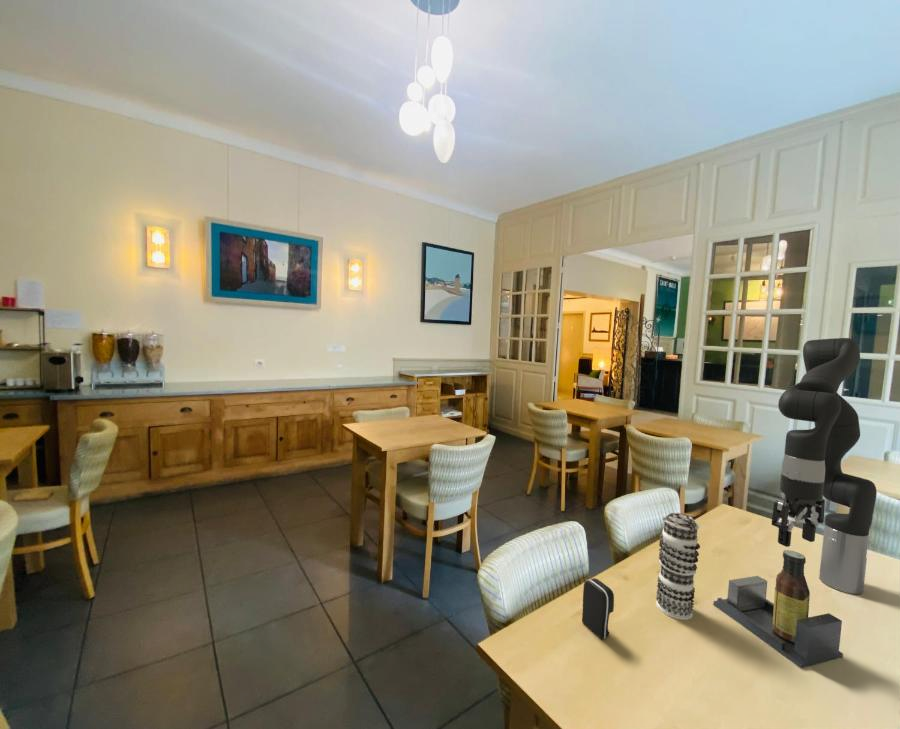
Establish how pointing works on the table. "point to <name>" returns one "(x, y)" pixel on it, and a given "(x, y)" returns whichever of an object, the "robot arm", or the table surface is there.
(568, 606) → the table surface
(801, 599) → the sauce bottle
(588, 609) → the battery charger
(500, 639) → the table surface
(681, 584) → the decorative candle
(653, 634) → the table surface
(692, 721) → the table surface
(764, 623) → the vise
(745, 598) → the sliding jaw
